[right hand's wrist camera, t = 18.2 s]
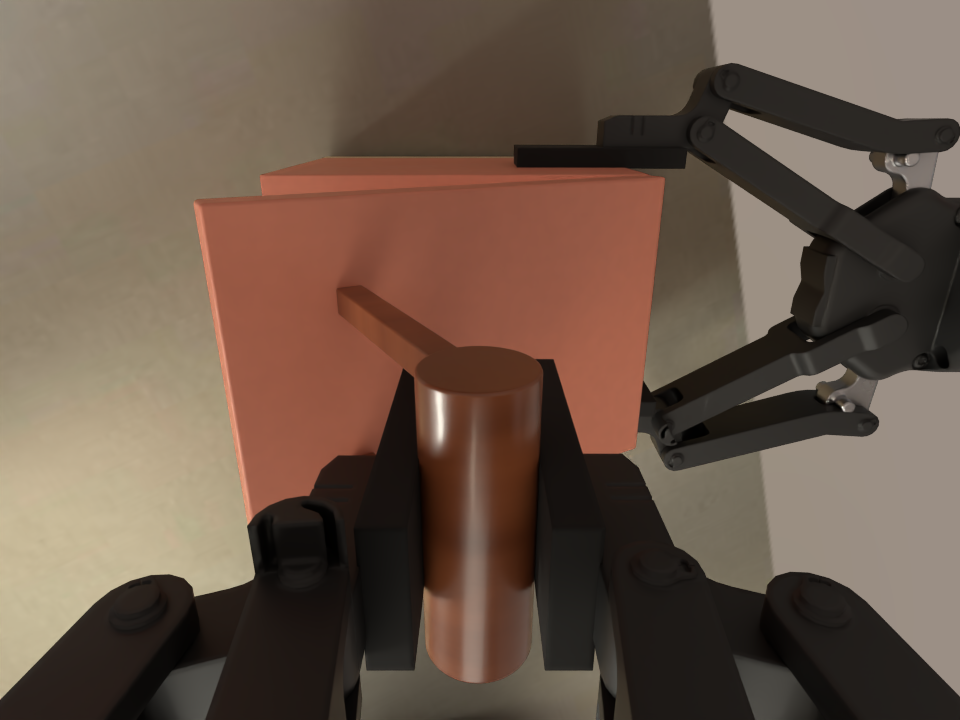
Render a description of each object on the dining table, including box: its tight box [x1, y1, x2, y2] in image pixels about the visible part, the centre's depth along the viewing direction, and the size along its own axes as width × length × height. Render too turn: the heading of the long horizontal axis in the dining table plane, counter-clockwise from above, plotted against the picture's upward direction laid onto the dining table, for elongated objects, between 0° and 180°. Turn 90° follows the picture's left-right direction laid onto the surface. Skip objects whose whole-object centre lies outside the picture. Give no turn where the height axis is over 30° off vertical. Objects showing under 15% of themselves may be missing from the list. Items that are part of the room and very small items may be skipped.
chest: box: [260, 156, 648, 196], centre depth 27 cm, size 13×10×11 cm
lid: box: [194, 175, 665, 683], centre depth 15 cm, size 14×10×9 cm
